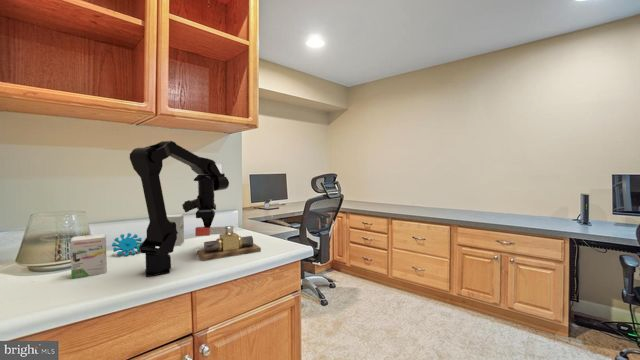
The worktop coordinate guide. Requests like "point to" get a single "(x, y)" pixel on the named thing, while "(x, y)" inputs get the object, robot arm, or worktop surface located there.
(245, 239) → the valve pipe
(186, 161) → the robot arm
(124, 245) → the blue spiky virus toy
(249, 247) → the mount board
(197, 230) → the valve lever
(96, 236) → the white pink medicine box
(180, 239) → the supplement box
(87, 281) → the worktop surface
